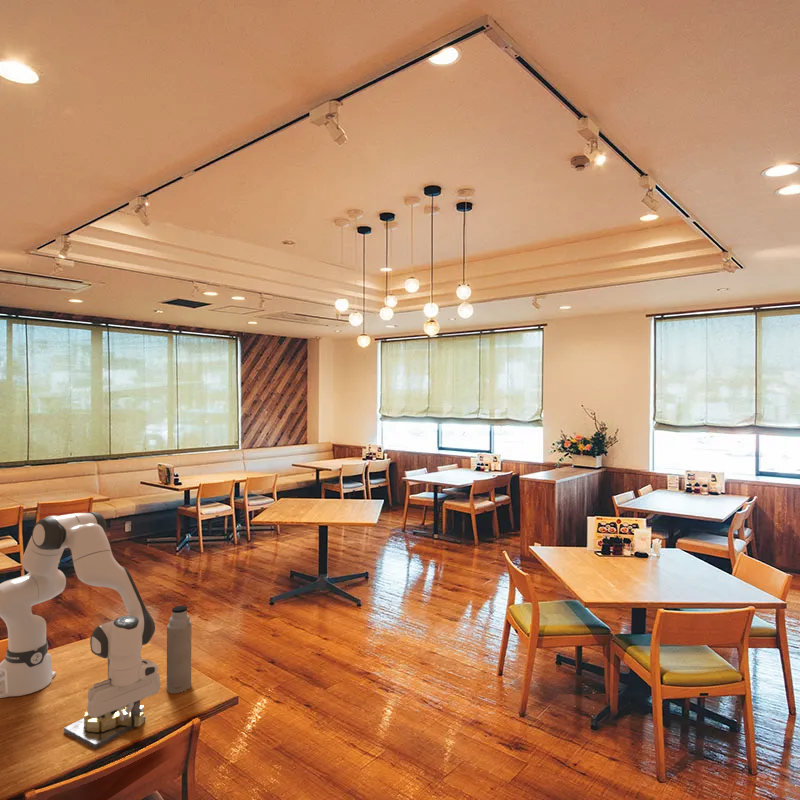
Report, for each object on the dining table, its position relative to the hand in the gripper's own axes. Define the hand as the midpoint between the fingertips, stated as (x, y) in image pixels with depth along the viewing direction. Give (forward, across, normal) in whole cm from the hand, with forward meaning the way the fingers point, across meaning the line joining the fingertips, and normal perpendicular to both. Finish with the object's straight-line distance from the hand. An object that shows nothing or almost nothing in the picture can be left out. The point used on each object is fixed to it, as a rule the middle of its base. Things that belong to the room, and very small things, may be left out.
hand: (124, 718), depth 165 cm
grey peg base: (+5, -2, +9) cm, 11 cm away
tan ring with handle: (+4, 0, +6) cm, 7 cm away
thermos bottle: (+6, +25, +14) cm, 29 cm away
